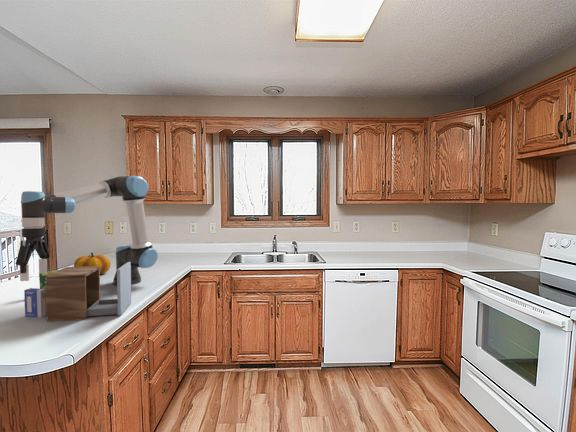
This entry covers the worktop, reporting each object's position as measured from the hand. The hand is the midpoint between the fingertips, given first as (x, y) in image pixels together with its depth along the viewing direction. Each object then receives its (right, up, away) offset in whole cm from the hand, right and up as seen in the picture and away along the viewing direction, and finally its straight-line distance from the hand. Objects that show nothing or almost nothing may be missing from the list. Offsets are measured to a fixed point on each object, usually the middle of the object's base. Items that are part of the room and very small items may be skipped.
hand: (34, 276), depth 129 cm
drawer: (+28, -17, +8) cm, 33 cm away
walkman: (0, -17, +1) cm, 17 cm away
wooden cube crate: (+15, -17, +5) cm, 23 cm away
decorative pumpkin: (-23, -14, +75) cm, 79 cm away
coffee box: (-16, -16, +29) cm, 37 cm away
